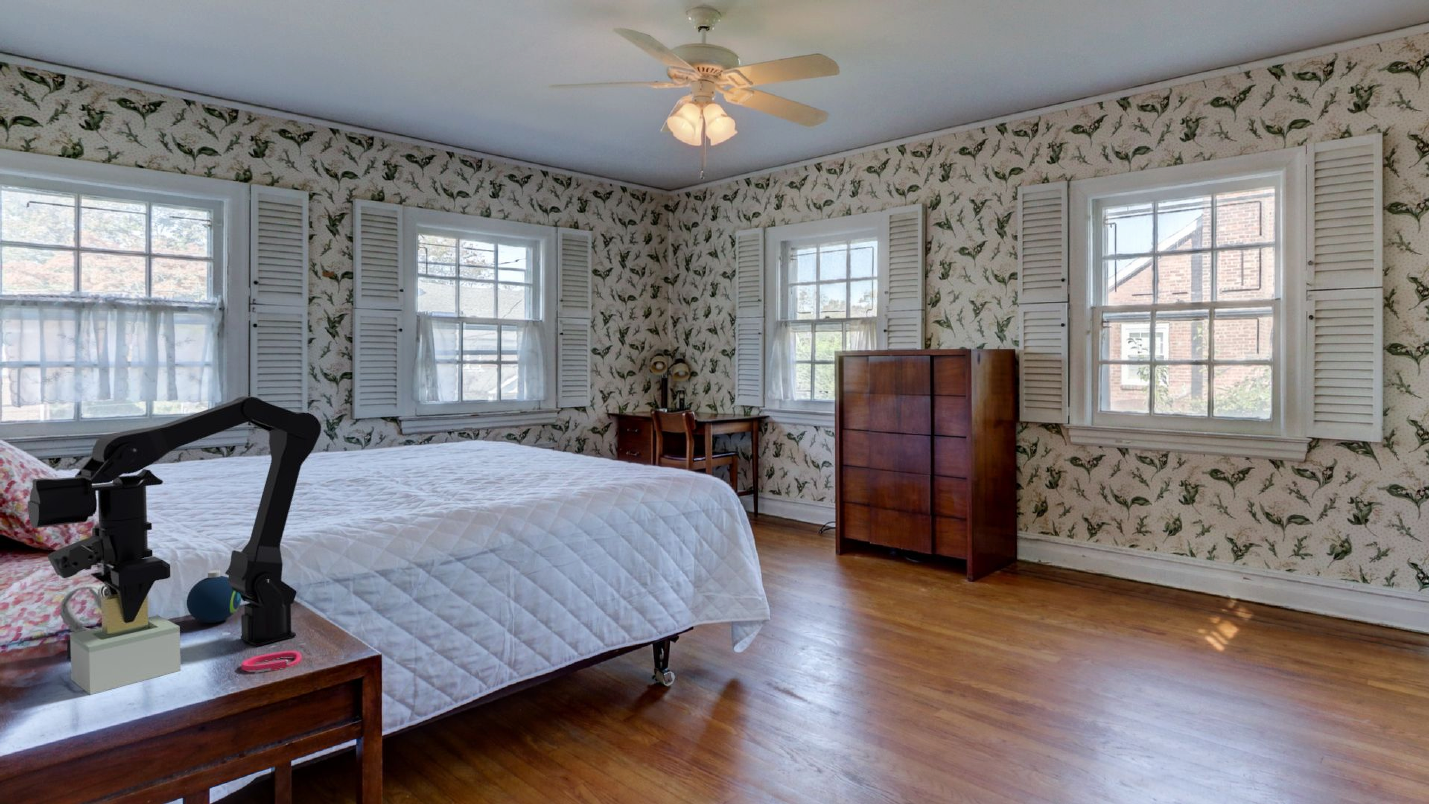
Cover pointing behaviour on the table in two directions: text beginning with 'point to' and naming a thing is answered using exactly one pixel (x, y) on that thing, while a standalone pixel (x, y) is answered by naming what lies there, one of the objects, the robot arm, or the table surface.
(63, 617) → the watch
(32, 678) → the table surface
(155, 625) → the coin box
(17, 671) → the table surface
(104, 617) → the block
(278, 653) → the fitness band
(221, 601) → the christmas ornament
